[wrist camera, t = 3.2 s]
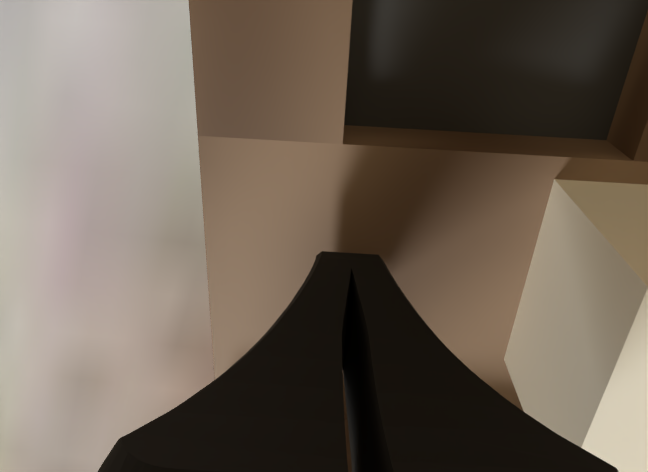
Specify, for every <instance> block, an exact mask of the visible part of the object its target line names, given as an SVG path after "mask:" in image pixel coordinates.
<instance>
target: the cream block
mask: <svg viewBox="0 0 648 472" xmlns="http://www.w3.org/2000/svg"><path fill="white" fill-rule="evenodd" d="M504 361H505V364H506V366H507V369H508V372H509V374H510V377H511V380H512V382H513V385H514V387H515V390H516V393H517V395H518V398H519V401H520V403H521V406H522V409H523V411H524V412H525V413H526V414H528V415H529V416H531V417H532V418H534V419H535V420H537V421H538V422H540V423H541V424H543V425H544V426H546V427H547V428H549V429H550V430H552V431H553V432H555V433H557V434H558V435H560V436H562V437H563V438H565V439H567V440H569V441H570V442H572V443H574V444H575V445H577V446H579V447H581V448H582V449H584V450H586V451H588V452H589V453H591V454H593V455H595V456H596V457H598V458H600V459H602V460H603V461H605V462H607V463H609V464H610V465H612V466H614V467H616V468H617V470H618V471H619V472H648V185H645V184H628V183H611V182H594V181H576V180H559V179H554V182H553V185H552V189H551V192H550V196H549V200H548V203H547V207H546V210H545V214H544V217H543V221H542V225H541V228H540V232H539V235H538V239H537V243H536V246H535V250H534V253H533V257H532V260H531V264H530V268H529V271H528V275H527V278H526V282H525V286H524V289H523V293H522V296H521V300H520V303H519V307H518V311H517V314H516V318H515V321H514V325H513V328H512V332H511V336H510V339H509V343H508V346H507V350H506V354H505V357H504Z"/></svg>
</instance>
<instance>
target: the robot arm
mask: <svg viewBox="0 0 648 472" xmlns="http://www.w3.org/2000/svg"><path fill="white" fill-rule="evenodd" d="M343 376H344V387H345V399H346V409H347V420H348V431H349V441H350V452H351V465H352V472H619V471H618V470H617V468H616V467H614V466H612V465H610V464H609V463H607V462H605V461H603V460H602V459H600V458H598V457H596V456H595V455H593V454H591V453H589V452H588V451H586V450H584V449H582V448H581V447H579V446H577V445H575V444H574V443H572V442H570V441H569V440H567V439H565V438H563V437H562V436H560V435H558V434H557V433H555V432H553V431H552V430H550V429H549V428H547V427H546V426H544V425H543V424H541V423H540V422H538V421H537V420H535V419H534V418H532V417H531V416H529V415H528V414H526V413H525V412H523V411H522V410H521V409H519V408H518V407H517V406H515V405H514V404H512V403H511V402H510V401H508V400H507V399H506V398H504V397H503V396H502V395H500V394H499V393H498V392H497V391H495V390H494V389H493V388H492V387H490V386H489V385H488V384H487V383H485V382H484V381H483V380H482V379H480V378H479V377H478V376H477V375H476V374H475V373H474V372H472V371H471V370H470V369H469V368H468V367H467V366H466V365H465V364H464V363H463V362H462V361H460V360H459V359H458V358H457V357H456V356H455V355H454V354H453V353H452V352H451V351H450V350H449V349H448V348H447V347H446V346H445V345H444V344H443V342H442V341H441V340H440V339H439V338H438V337H437V336H436V335H435V333H434V332H433V331H432V330H431V329H430V328H429V326H428V325H427V324H426V323H425V322H424V320H423V319H422V318H421V316H420V315H419V314H418V313H417V311H416V310H415V308H414V307H413V306H412V304H411V303H410V302H409V300H408V299H407V298H406V296H405V295H404V293H403V292H402V290H401V289H400V287H399V286H398V284H397V283H396V281H395V280H394V278H393V276H392V275H391V273H390V271H389V270H388V268H387V266H386V264H385V263H384V261H383V259H382V258H381V257H380V256H379V255H377V254H360V253H344V252H327V251H322V252H320V253H319V254H318V255H316V259H315V262H314V264H313V266H312V268H311V270H310V272H309V274H308V276H307V278H306V279H305V281H304V283H303V284H302V286H301V287H300V289H299V290H298V292H297V294H296V295H295V297H294V298H293V300H292V301H291V302H290V304H289V305H288V306H287V308H286V309H285V310H284V311H283V313H282V314H281V315H280V317H279V318H278V319H277V320H276V322H275V323H274V324H273V325H272V326H271V328H270V329H269V330H268V331H267V332H266V333H265V334H264V335H263V336H262V338H261V339H260V340H259V341H258V342H257V343H256V344H255V345H254V346H253V347H252V348H251V349H250V350H249V351H248V352H247V353H246V354H245V355H243V356H242V357H241V358H240V359H239V360H238V361H237V362H236V363H234V364H233V365H232V366H231V367H230V368H229V369H228V370H226V371H225V372H224V373H223V374H222V375H220V376H219V377H218V378H217V379H215V380H214V381H213V382H212V383H210V384H209V385H207V386H206V387H204V388H203V389H202V390H200V391H199V392H197V393H196V394H195V395H193V396H192V397H190V398H189V399H187V400H186V401H185V402H183V403H182V404H180V405H179V406H177V407H176V408H174V409H172V410H171V411H169V412H167V413H166V414H164V415H162V416H160V417H158V418H157V419H155V420H153V421H151V422H149V423H148V424H146V425H144V426H142V427H140V428H139V429H137V430H135V431H133V432H131V433H129V434H127V435H125V436H123V437H122V438H120V439H119V440H118V441H117V443H116V444H115V445H114V447H113V448H112V450H111V452H110V453H109V455H108V456H107V458H106V459H105V461H104V462H103V464H102V465H101V467H100V469H99V471H98V472H348V464H347V450H346V435H345V419H344V398H343Z"/></svg>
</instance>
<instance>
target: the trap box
mask: <svg viewBox="0 0 648 472" xmlns="http://www.w3.org/2000/svg"><path fill="white" fill-rule="evenodd" d="M189 11H190V26H191V40H192V55H193V70H194V84H195V99H196V114H197V128H198V143H199V158H200V172H201V187H202V202H203V216H204V231H205V246H206V260H207V275H208V290H209V304H210V319H211V334H212V348H213V363H214V378H215V379H217V378H218V377H219V376H220V375H222V374H223V373H224V372H225V371H226V370H228V369H229V368H230V367H231V366H232V365H233V364H234V363H236V362H237V361H238V360H239V359H240V358H241V357H242V356H243V355H245V354H246V353H247V352H248V351H249V350H250V349H251V348H252V347H253V346H254V345H255V344H256V343H257V342H258V341H259V340H260V339H261V338H262V336H263V335H264V334H265V333H266V332H267V331H268V330H269V329H270V328H271V326H272V325H273V324H274V323H275V322H276V320H277V319H278V318H279V317H280V315H281V314H282V313H283V311H284V310H285V309H286V308H287V306H288V305H289V304H290V302H291V301H292V300H293V298H294V297H295V295H296V294H297V292H298V290H299V289H300V287H301V286H302V284H303V283H304V281H305V279H306V278H307V276H308V274H309V272H310V270H311V268H312V266H313V264H314V262H315V259H316V255H318V254H319V253H320V252H322V251H327V252H344V253H360V254H377V255H379V256H380V257H381V258H382V259H383V261H384V263H385V264H386V266H387V268H388V270H389V271H390V273H391V275H392V276H393V278H394V280H395V281H396V283H397V284H398V286H399V287H400V289H401V290H402V292H403V293H404V295H405V296H406V298H407V299H408V300H409V302H410V303H411V304H412V306H413V307H414V308H415V310H416V311H417V313H418V314H419V315H420V316H421V318H422V319H423V320H424V322H425V323H426V324H427V325H428V326H429V328H430V329H431V330H432V331H433V332H434V333H435V335H436V336H437V337H438V338H439V339H440V340H441V341H442V342H443V344H444V345H445V346H446V347H447V348H448V349H449V350H450V351H451V352H452V353H453V354H454V355H455V356H456V357H457V358H458V359H459V360H460V361H462V362H463V363H464V364H465V365H466V366H467V367H468V368H469V369H470V370H471V371H472V372H474V373H475V374H476V375H477V376H478V377H479V378H480V379H482V380H483V381H484V382H485V383H487V384H488V385H489V386H490V387H492V388H493V389H494V390H495V391H497V392H498V393H499V394H500V395H502V396H503V397H504V398H506V399H507V400H508V401H510V402H511V403H512V404H514V405H515V406H517V407H518V408H519V409H521V410H522V411H523V409H522V406H521V403H520V401H519V398H518V395H517V393H516V390H515V387H514V385H513V382H512V380H511V377H510V374H509V372H508V369H507V366H506V364H505V361H504V357H505V354H506V350H507V346H508V343H509V339H510V336H511V332H512V328H513V325H514V321H515V318H516V314H517V311H518V307H519V303H520V300H521V296H522V293H523V289H524V286H525V282H526V278H527V275H528V271H529V268H530V264H531V260H532V257H533V253H534V250H535V246H536V243H537V239H538V235H539V232H540V228H541V225H542V221H543V217H544V214H545V210H546V207H547V203H548V200H549V196H550V192H551V189H552V185H553V182H554V179H559V180H576V181H594V182H611V183H628V184H645V185H648V0H189ZM343 398H344V419H345V435H346V450H347V464H348V472H352V465H351V452H350V441H349V431H348V420H347V409H346V399H345V387H344V376H343ZM523 412H524V411H523Z"/></svg>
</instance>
